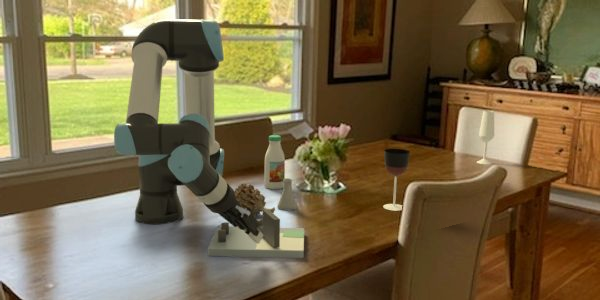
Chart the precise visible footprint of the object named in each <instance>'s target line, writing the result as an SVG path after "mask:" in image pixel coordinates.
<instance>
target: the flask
mask: <svg viewBox="0 0 600 300" xmlns="http://www.w3.org/2000/svg"><path fill="white" fill-rule="evenodd" d="M283 181H284V187H283V188H282V189H283V190H282V192H281V195H280V198H279V200H278V203H277V206H276V207H277V209H279V210H283V211H294V210H296V209H297V208H299V207H298V204H297V202H296V199H295V195H294V192H293V185H292V182H293V178H286V177H285V179H283Z"/></svg>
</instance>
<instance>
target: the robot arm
mask: <svg viewBox="0 0 600 300" xmlns="http://www.w3.org/2000/svg"><path fill="white" fill-rule="evenodd" d="M222 39H223V38H222V33H221V27H220V25H219V23H218V22H217V21H216V20H214V19H213V20H212V19H203V18H200V19H197V18H196V19H195V18H194V19H193V18H192V19H191V18H190V19H189V18H187V19H182V18H181V19H178V18H177V19H176V18H173V19H172V18H163V19H159V20H156V21H154V22H152V23H150V24H148V25H147V26H146V27H145V28H143V29H142V30H141V32H140V33H139V34H138V35H137V37H136V38H135V40H134V41H133V45H132V48H131V54H130V55H131V57H130V58H131V61H132V62H133V66H132V67H133V68H132V75H131V82H130V88H129V89H130V91H129V97H128V103H127V112H126V119H125V122H122V123H117V125H116V126H115V128H114V133H113V134H114V135H113V141H114V143H113V144H114V149H115V152H116V153H117V154H118V155H122V156H138V164H137V167H138V175H139V176H138V177H139V197H138V200H137V203H136V207H135V211H134V215H135V216H134V217H135V220H136V221H137V222H140V223H142V224H146V225H164V224H165V225H166V224H170V223H174V222H176V221H177V222H178V221H179V220H182V219H183V217H184V208H183V205H182V202H181V200H180V198H179V195H178V187H179V186H185V187H186V188H187V189H188V190H189V191H190V192H191V193H192V194H193V195H194V196H195V197H197V199H198V202H199V203H203V205H204V206H205V207H206V208H207V209H208V210H209V211H210V212H212V213H213V214H218V215H219V216H220V217H222V218H223V219H224V220H225V221H226V222H227V223H229V225H232V227H238V228H239V229H241V230H244V232H245V233H246V234H247V235H248V236H249V237H250V238H251V239H252V240H253V241H254V242H255V243H258V244H259V243H260V241H261V239H262V237H263V234H262V233H261V232H260V231H259V230H258V229H257V227H258V225H259V223H258V222H257V220H256V216H255V217H254V215H253V214H252V210H251V208H245V209H243V208H242V207H241V205H240V204H239V202H238V201H237V200H236V199H235V192H234V191H235V189H233V188H232V187H231V185H229V183H228V182H227V181H226V180H225V178H223V172H224V162H225V161H224V160H225V150H224V149H223V148H220V147H221V146H220V143H219V142H218V141H217V140H216V136H215V135H216V132H215V128H216V127H215V123H216V122H215V72H216V71H217V70H218V69H219V68H220V63H221V62H223V61H224V59H225V57H224V50H223V49H224V48H223V47H224V46H223V40H222ZM167 61H171V62H178V68H179V69H180V70H182V72H184V75H183V77H184V94H185V95H184V96H185V97H184V98H185V99H184V100H185V115H183V116H182V117H181V118H180V119H179V122H178V123H175V122H174V123H170V122H169V123H165V122H161V123H159V117H160V116H159V115H160V114H159V113H160V103H161V102H160V101H161V90H162V78H163V68H164V66H165V65H166V64H167Z"/></svg>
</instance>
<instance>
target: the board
mask: <svg viewBox="0 0 600 300" xmlns="http://www.w3.org/2000/svg"><path fill="white" fill-rule="evenodd" d="M305 232H306V231H305V228H304V227H280V247H276V248H274V247H273V246H272V245H271V244H270V243H269V242H268V241H266V240H265V239H264V238H263V237H262V239H261V241H260V243H259V244H258V243H255V242H254V241H253V240H252V239H251V238H250V237H249V236H248V235H247V234H246V233H245V232H244V230H241V229H239V228H238V227H234V226H230V223H229V222H227V221H226V222H225V221H224V222H222V223H221V226H220V225H219V226H217V227H216V229H215V231H214V234H213V237H212V238H211V241H210V243H209V245H208V248H207V256H208V257H240V258H241V257H243V258H245V257H246V258H251V257H252V258H281V259H282V258H285V259H286V258H287V259H295V258H296V259H303V258H304V254H305V253H304V252H305V251H304V250H305V247H304V246H305Z"/></svg>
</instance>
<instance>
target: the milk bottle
mask: <svg viewBox="0 0 600 300" xmlns="http://www.w3.org/2000/svg"><path fill="white" fill-rule="evenodd" d="M268 142H269V145H268V147H267V150H266V153H265V155H264V176H263V177H264V181H263V182H264V183H263V184H264V188H266V189H270V190H279V189H280V190H281V189H283V188H284V181H283V179H285V178H286V177H285V174H286V173H285V171H286V170H285V169H286V168H285V167H286V163H285V161H286V160H285V159H286V158H285V157H286V156H285V153H284V151H283V148H282V145H281V142H282V137H281V135H278V134H272V135H269V136H268Z"/></svg>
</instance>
